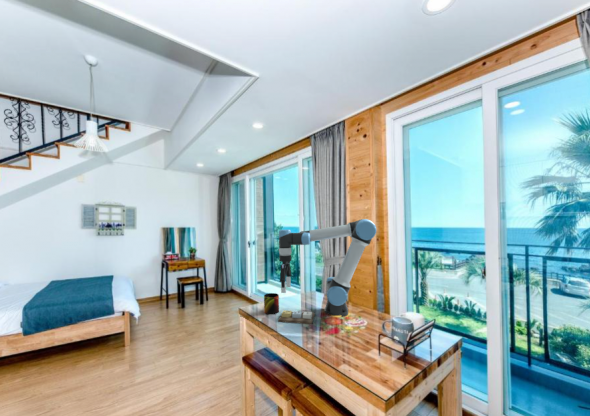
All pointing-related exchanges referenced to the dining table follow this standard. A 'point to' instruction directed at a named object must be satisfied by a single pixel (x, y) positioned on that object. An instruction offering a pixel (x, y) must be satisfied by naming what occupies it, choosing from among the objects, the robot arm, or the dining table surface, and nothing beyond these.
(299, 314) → the two-dot tile
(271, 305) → the mug
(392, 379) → the dining table surface
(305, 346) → the dining table surface
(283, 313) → the tile
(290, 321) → the board
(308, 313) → the tile
